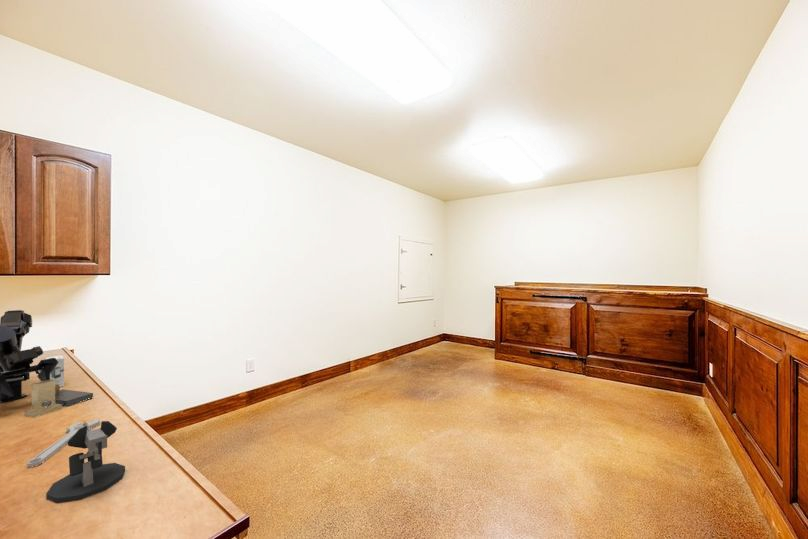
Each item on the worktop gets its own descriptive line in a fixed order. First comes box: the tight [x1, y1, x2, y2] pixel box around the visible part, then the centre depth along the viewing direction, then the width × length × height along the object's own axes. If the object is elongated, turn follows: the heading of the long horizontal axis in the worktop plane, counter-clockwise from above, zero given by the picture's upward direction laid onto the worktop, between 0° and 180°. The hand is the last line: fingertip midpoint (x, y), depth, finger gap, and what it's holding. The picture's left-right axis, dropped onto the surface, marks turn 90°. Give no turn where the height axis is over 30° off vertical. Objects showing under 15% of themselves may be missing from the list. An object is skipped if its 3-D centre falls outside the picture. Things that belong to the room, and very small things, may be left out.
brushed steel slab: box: [55, 384, 94, 407], centre depth 123 cm, size 16×8×5 cm, turn 74°
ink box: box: [44, 354, 65, 387], centre depth 139 cm, size 9×5×12 cm, turn 52°
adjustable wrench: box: [26, 418, 101, 468], centre depth 92 cm, size 25×6×2 cm, turn 14°
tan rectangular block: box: [23, 380, 63, 418], centre depth 113 cm, size 5×7×10 cm
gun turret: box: [45, 420, 126, 504], centre depth 76 cm, size 13×20×13 cm, turn 50°
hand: (31, 391), depth 115 cm, fingers open, 9 cm apart
